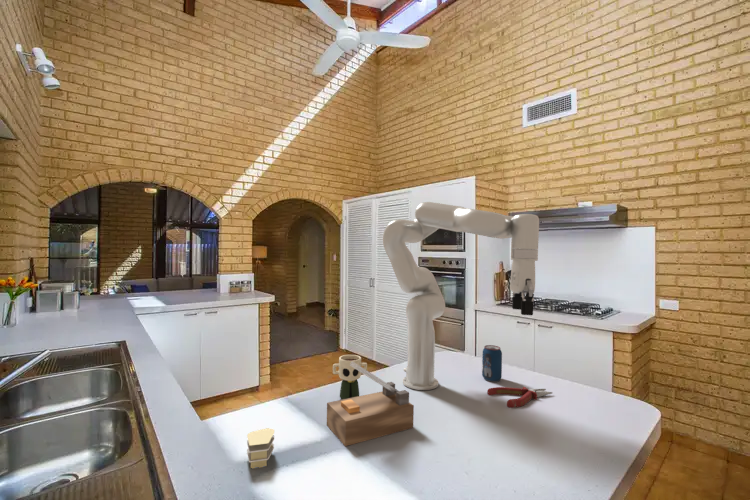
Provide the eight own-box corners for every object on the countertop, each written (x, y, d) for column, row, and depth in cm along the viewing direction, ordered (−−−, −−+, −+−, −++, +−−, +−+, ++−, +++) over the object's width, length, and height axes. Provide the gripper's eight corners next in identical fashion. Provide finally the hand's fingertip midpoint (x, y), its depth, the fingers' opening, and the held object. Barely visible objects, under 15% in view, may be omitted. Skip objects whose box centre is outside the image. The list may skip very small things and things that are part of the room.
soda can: (500, 377, 138) (501, 345, 138) (502, 383, 132) (503, 350, 132) (481, 375, 140) (482, 344, 140) (482, 381, 133) (483, 348, 133)
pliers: (563, 401, 117) (563, 393, 117) (509, 410, 110) (510, 401, 110) (535, 388, 129) (535, 380, 129) (485, 395, 122) (485, 387, 122)
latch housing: (326, 424, 98) (327, 391, 98) (389, 410, 108) (390, 379, 108) (345, 446, 87) (346, 408, 87) (413, 427, 97) (413, 394, 97)
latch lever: (348, 364, 97) (351, 360, 97) (391, 391, 104) (393, 387, 104) (356, 369, 93) (359, 365, 93) (400, 397, 100) (402, 393, 100)
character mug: (332, 404, 111) (333, 361, 111) (331, 394, 118) (332, 355, 118) (368, 402, 113) (368, 360, 113) (364, 393, 120) (365, 354, 120)
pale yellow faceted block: (281, 470, 78) (282, 445, 78) (237, 477, 75) (238, 450, 75) (280, 446, 88) (280, 423, 88) (240, 451, 85) (241, 428, 85)
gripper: (504, 254, 119) (502, 306, 119) (519, 255, 101) (516, 316, 102) (528, 255, 118) (526, 307, 118) (547, 256, 100) (545, 318, 101)
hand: (522, 311), depth 110 cm, fingers open, 9 cm apart
